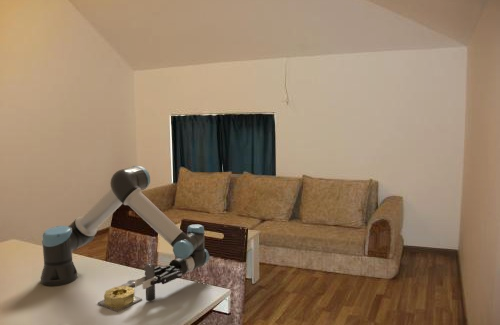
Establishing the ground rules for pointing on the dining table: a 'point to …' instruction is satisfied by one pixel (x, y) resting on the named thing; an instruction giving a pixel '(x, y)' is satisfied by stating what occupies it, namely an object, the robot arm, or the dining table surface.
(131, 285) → the grey bar with ball
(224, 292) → the dining table surface
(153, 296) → the steel pin
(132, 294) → the ring nut
